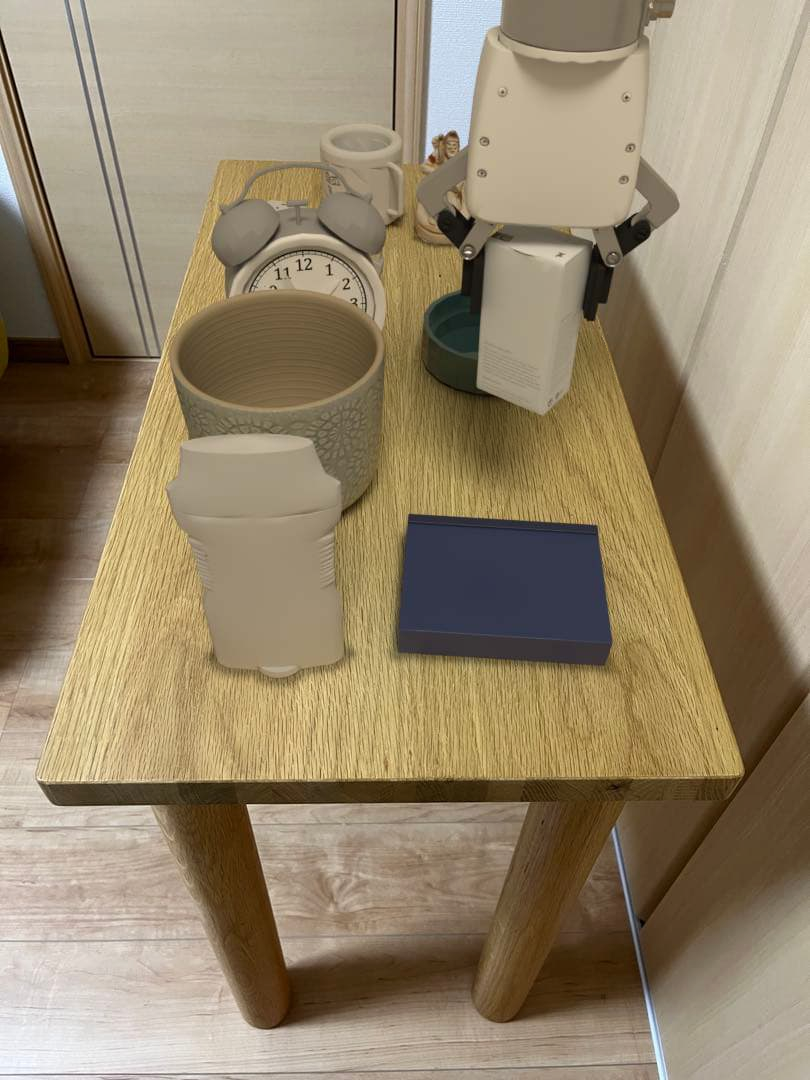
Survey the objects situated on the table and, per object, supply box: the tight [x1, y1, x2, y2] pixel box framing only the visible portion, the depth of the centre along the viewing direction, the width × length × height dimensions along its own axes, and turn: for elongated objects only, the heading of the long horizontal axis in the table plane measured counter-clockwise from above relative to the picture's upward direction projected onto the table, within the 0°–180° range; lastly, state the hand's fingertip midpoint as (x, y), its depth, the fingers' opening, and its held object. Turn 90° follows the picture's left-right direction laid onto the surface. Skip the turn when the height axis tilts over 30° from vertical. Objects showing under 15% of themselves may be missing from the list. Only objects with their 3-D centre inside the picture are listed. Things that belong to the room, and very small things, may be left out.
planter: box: [168, 289, 386, 513], centre depth 71 cm, size 17×17×15 cm
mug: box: [319, 123, 405, 226], centre depth 109 cm, size 14×11×10 cm
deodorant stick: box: [164, 434, 345, 679], centre depth 55 cm, size 11×4×22 cm, turn 93°
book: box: [397, 513, 613, 667], centre depth 66 cm, size 16×12×3 cm
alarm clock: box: [210, 161, 388, 333], centre depth 80 cm, size 16×9×22 cm, turn 102°
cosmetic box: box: [476, 225, 594, 417], centre depth 57 cm, size 6×4×12 cm
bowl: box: [421, 289, 494, 396], centre depth 89 cm, size 14×14×4 cm
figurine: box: [414, 129, 470, 246], centre depth 104 cm, size 7×7×15 cm
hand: (531, 305), depth 57 cm, fingers closed on cosmetic box, 7 cm apart
